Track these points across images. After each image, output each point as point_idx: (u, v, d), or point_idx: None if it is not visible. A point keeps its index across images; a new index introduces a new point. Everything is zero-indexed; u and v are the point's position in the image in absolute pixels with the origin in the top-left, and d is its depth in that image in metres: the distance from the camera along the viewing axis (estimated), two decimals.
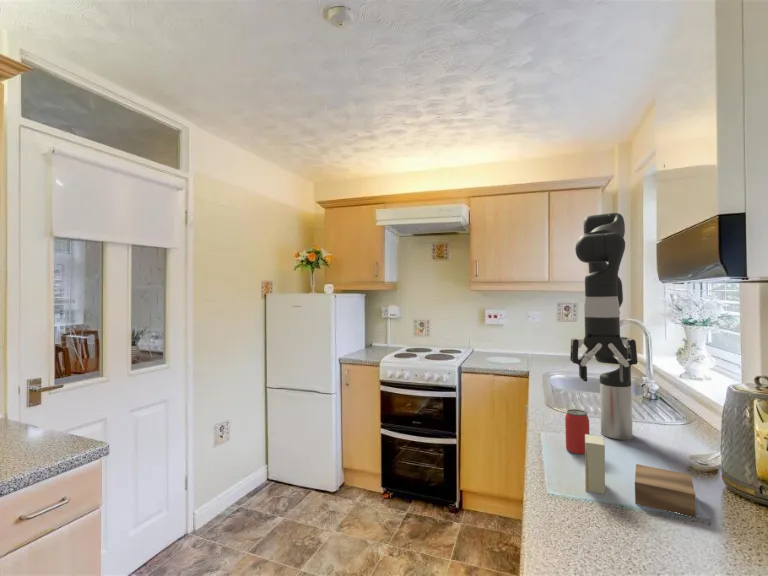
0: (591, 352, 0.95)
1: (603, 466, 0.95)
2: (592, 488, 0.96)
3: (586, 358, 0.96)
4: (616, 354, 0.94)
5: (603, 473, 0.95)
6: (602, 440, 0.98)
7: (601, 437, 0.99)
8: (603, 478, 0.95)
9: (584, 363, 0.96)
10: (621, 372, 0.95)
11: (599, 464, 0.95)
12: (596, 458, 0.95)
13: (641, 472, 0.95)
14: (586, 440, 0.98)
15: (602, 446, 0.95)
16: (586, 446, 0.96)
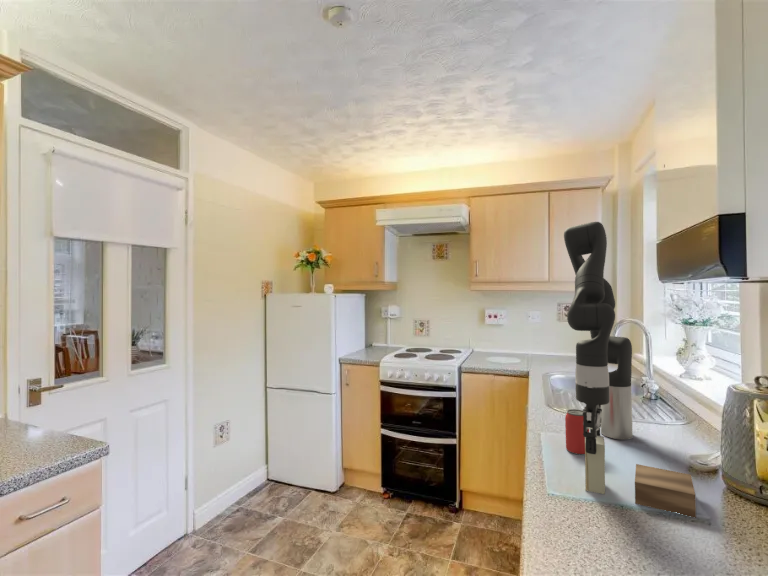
0: (599, 422, 0.95)
1: (603, 466, 0.95)
2: (592, 488, 0.96)
3: (596, 430, 0.94)
4: (601, 418, 0.99)
5: (603, 473, 0.95)
6: (602, 440, 0.98)
7: (601, 437, 0.99)
8: (603, 478, 0.95)
9: (596, 435, 0.94)
10: None
11: (599, 464, 0.95)
12: (596, 458, 0.95)
13: (641, 472, 0.95)
14: None
15: (602, 446, 0.95)
16: None
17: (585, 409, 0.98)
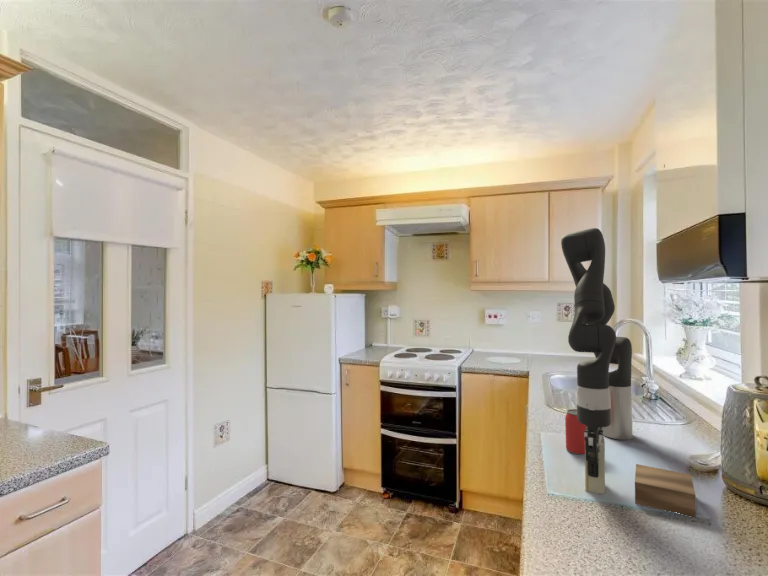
0: None
1: (603, 466, 0.95)
2: (592, 488, 0.96)
3: (598, 453, 0.95)
4: None
5: (603, 473, 0.95)
6: (602, 440, 0.98)
7: None
8: (603, 478, 0.95)
9: (598, 459, 0.95)
10: None
11: (598, 464, 0.95)
12: None
13: (641, 472, 0.95)
14: None
15: (602, 446, 0.95)
16: None
17: (586, 431, 0.98)
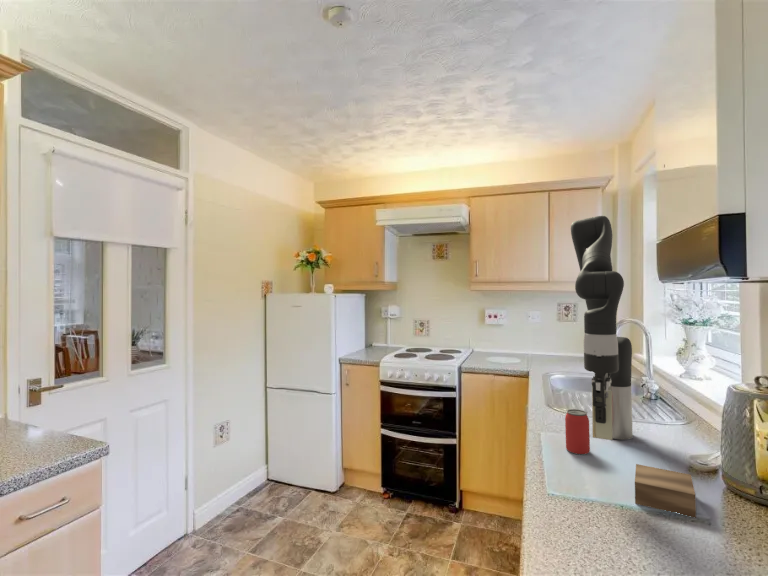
0: None
1: (610, 412, 0.94)
2: (599, 435, 0.95)
3: None
4: None
5: (610, 419, 0.94)
6: (609, 387, 0.97)
7: None
8: (610, 424, 0.94)
9: (605, 405, 0.94)
10: None
11: (606, 410, 0.95)
12: None
13: (641, 472, 0.95)
14: None
15: (609, 392, 0.94)
16: None
17: (594, 378, 0.97)
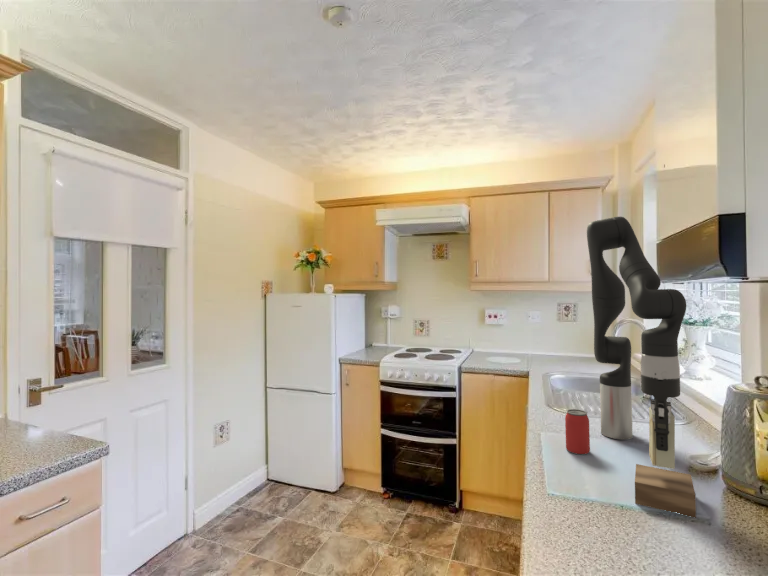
0: None
1: (673, 439, 0.89)
2: (660, 463, 0.90)
3: None
4: None
5: (673, 446, 0.89)
6: None
7: None
8: (673, 452, 0.89)
9: None
10: None
11: (668, 437, 0.89)
12: None
13: (641, 472, 0.95)
14: None
15: (672, 417, 0.89)
16: None
17: (653, 402, 0.92)
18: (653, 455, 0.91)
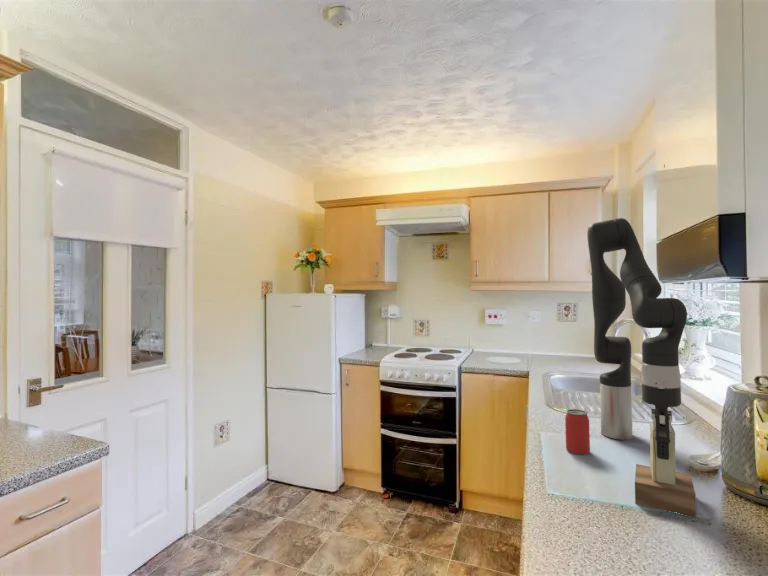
0: None
1: (673, 455, 0.89)
2: (661, 478, 0.90)
3: (669, 433, 0.88)
4: None
5: (673, 462, 0.89)
6: (671, 427, 0.91)
7: None
8: (673, 468, 0.89)
9: None
10: None
11: None
12: None
13: (641, 472, 0.95)
14: None
15: (672, 433, 0.88)
16: (654, 434, 0.90)
17: (654, 411, 0.92)
18: (653, 471, 0.90)
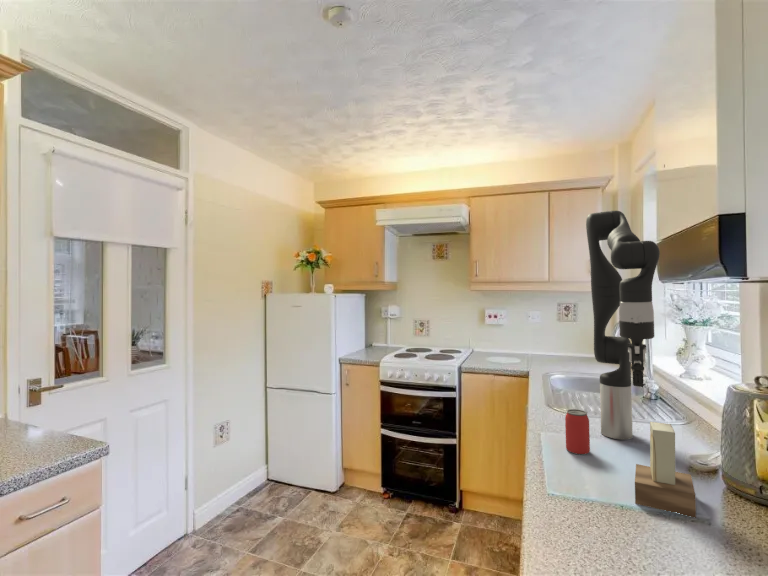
0: None
1: (673, 455, 0.89)
2: (661, 478, 0.90)
3: (643, 363, 0.97)
4: None
5: (673, 462, 0.89)
6: (671, 427, 0.91)
7: (668, 425, 0.93)
8: (673, 468, 0.89)
9: None
10: None
11: (668, 453, 0.89)
12: (666, 447, 0.89)
13: (641, 472, 0.95)
14: (653, 427, 0.92)
15: (672, 433, 0.89)
16: (654, 434, 0.90)
17: (630, 345, 1.01)
18: (653, 471, 0.90)
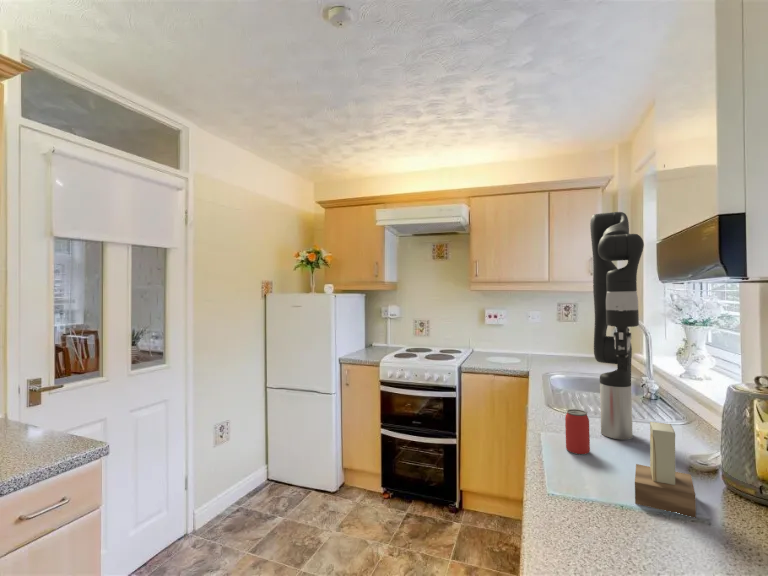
0: (629, 343, 1.02)
1: (673, 455, 0.89)
2: (661, 478, 0.90)
3: (627, 349, 1.02)
4: (630, 342, 1.07)
5: (673, 462, 0.89)
6: (671, 427, 0.91)
7: (668, 425, 0.93)
8: (673, 468, 0.89)
9: None
10: None
11: (668, 453, 0.89)
12: (666, 447, 0.89)
13: (641, 472, 0.95)
14: (653, 427, 0.92)
15: (672, 433, 0.89)
16: (654, 434, 0.90)
17: None
18: (653, 471, 0.90)
